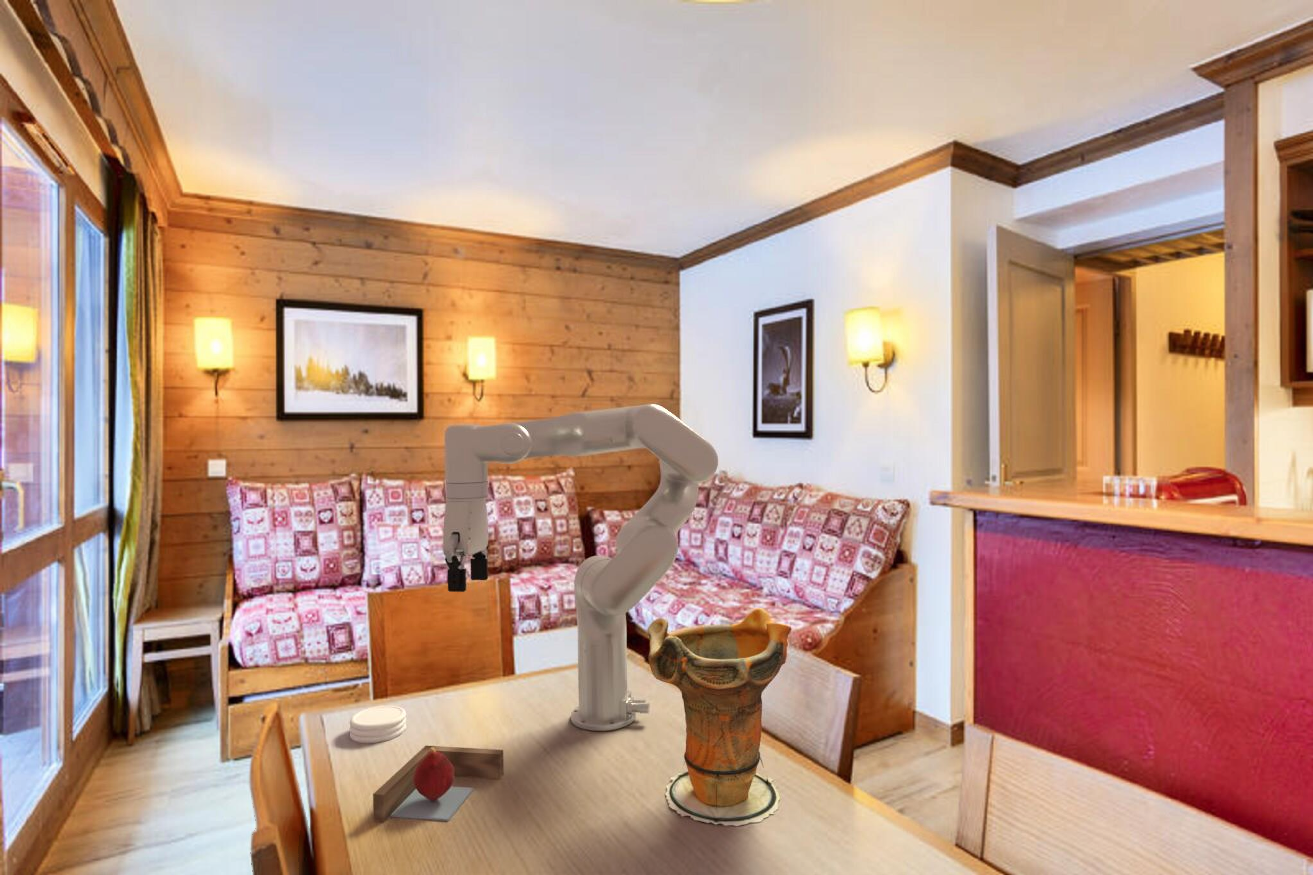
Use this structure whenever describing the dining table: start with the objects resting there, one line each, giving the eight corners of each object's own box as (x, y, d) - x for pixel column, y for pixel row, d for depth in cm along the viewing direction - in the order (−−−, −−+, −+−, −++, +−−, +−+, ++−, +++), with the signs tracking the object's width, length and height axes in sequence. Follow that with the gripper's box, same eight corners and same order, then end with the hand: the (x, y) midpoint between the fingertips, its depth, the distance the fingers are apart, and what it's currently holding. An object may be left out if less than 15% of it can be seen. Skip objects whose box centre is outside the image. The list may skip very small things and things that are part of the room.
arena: (503, 773, 116) (503, 749, 116) (462, 828, 100) (461, 799, 100) (426, 769, 118) (425, 745, 118) (373, 821, 102) (373, 794, 102)
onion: (461, 792, 110) (460, 741, 110) (443, 811, 104) (442, 757, 104) (426, 789, 111) (425, 738, 111) (406, 808, 105) (406, 755, 105)
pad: (473, 789, 111) (473, 787, 111) (448, 820, 102) (448, 818, 102) (420, 786, 113) (420, 784, 113) (390, 816, 104) (390, 814, 104)
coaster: (352, 726, 137) (352, 708, 137) (407, 719, 140) (406, 701, 140) (347, 748, 127) (346, 728, 127) (405, 739, 130) (405, 720, 130)
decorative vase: (623, 775, 114) (630, 602, 114) (750, 758, 122) (756, 595, 122) (672, 846, 94) (679, 636, 95) (819, 819, 103) (825, 626, 103)
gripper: (467, 488, 138) (468, 575, 139) (425, 496, 121) (427, 595, 121) (503, 488, 137) (505, 576, 137) (466, 496, 120) (468, 596, 120)
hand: (468, 585), depth 129 cm, fingers open, 9 cm apart
